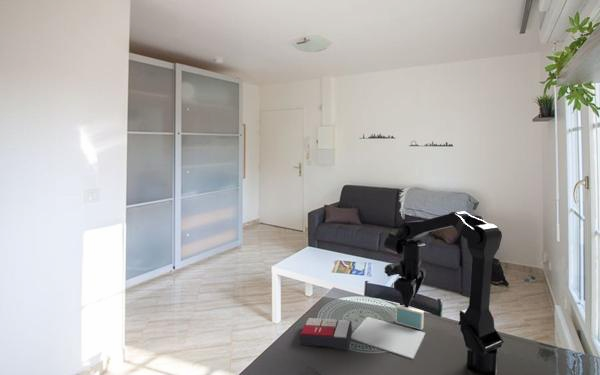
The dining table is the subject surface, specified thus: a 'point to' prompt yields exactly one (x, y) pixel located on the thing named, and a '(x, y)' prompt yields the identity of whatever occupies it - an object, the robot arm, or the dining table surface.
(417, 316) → the block
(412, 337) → the mat
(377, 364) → the dining table surface
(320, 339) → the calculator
